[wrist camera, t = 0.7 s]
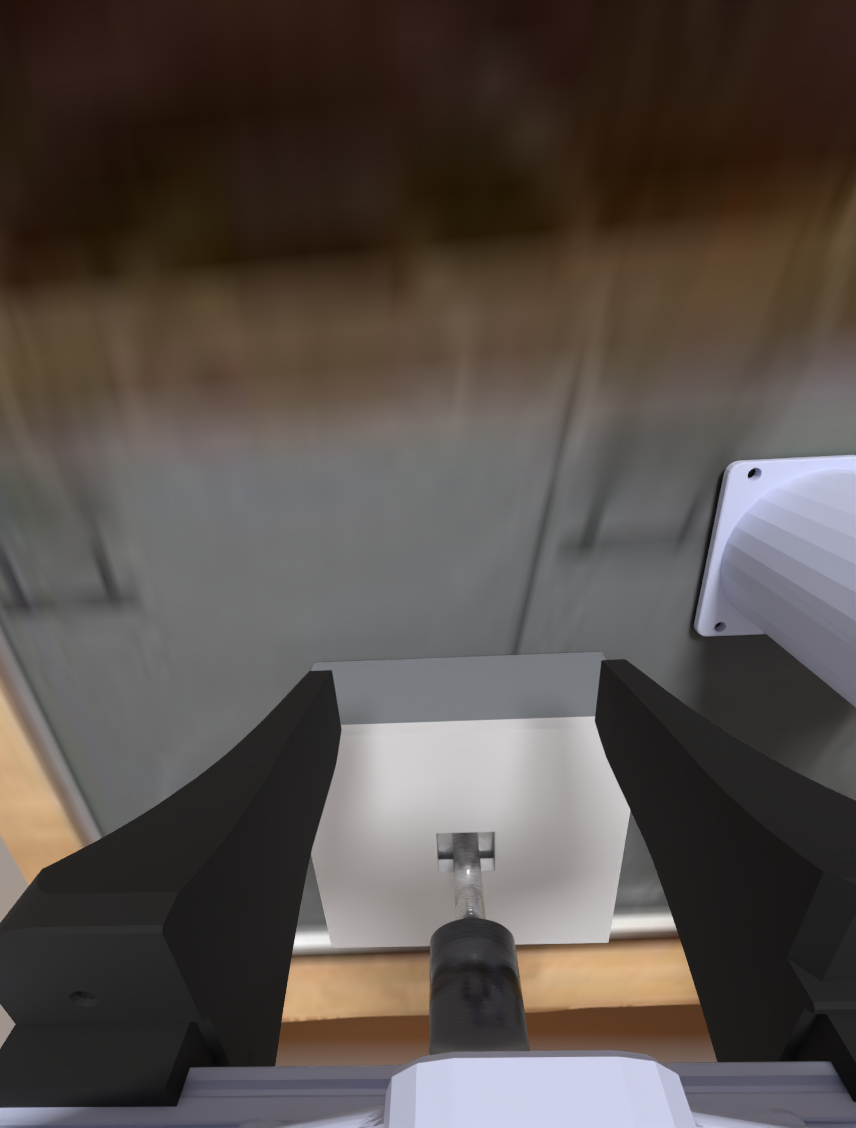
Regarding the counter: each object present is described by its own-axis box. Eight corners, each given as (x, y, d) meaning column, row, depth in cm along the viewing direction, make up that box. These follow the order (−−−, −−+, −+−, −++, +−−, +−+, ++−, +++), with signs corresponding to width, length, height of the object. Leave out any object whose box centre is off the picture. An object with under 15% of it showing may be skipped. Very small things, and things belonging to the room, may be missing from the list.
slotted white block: (601, 651, 23) (644, 725, 18) (579, 847, 28) (608, 942, 24) (314, 662, 23) (284, 737, 18) (348, 853, 29) (332, 947, 24)
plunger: (591, 732, 20) (682, 946, 13) (573, 897, 24) (632, 1126, 17) (333, 740, 20) (277, 953, 13) (361, 901, 25) (331, 1128, 17)
